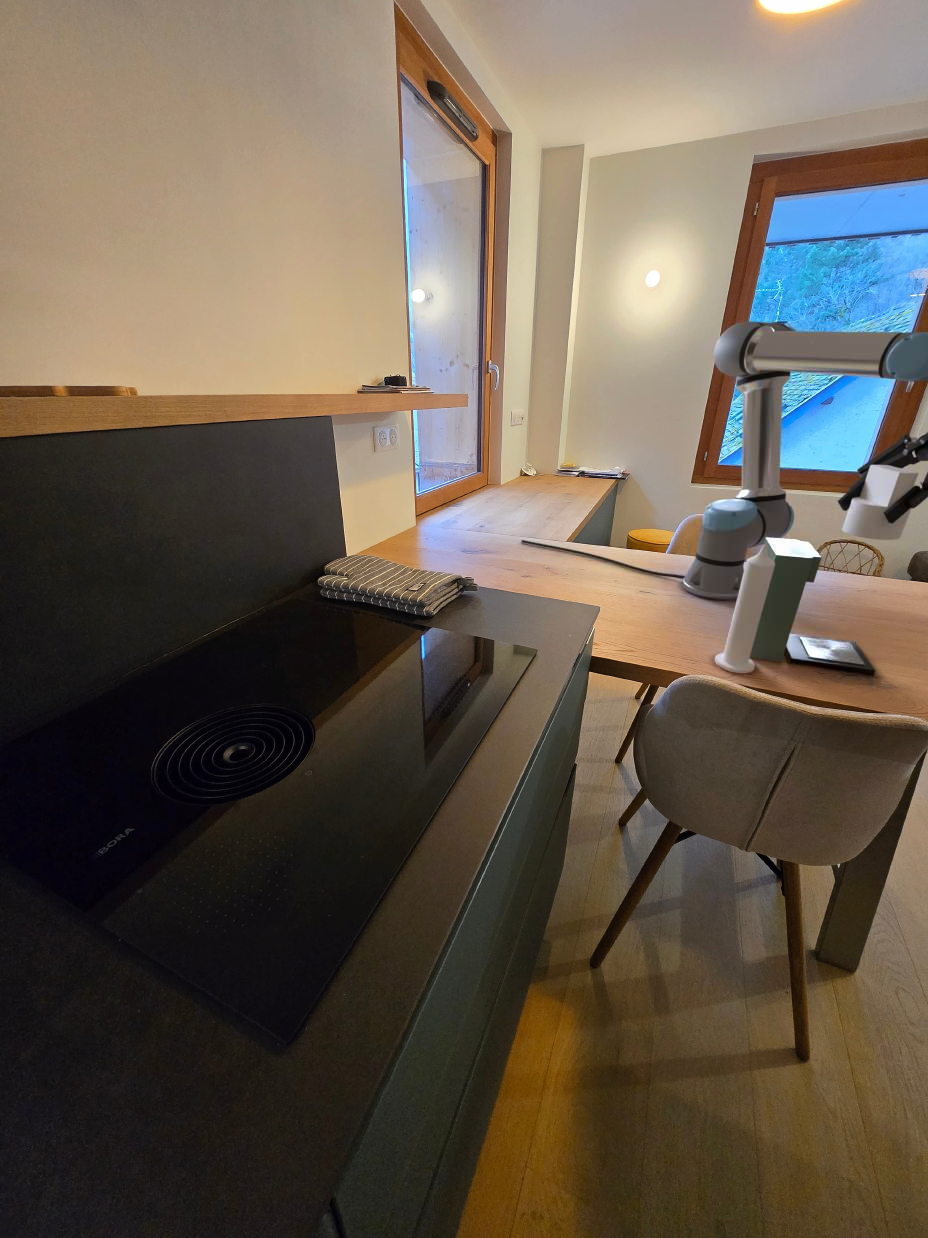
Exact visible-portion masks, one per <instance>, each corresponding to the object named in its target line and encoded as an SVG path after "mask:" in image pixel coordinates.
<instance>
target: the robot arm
mask: <svg viewBox="0 0 928 1238" xmlns="http://www.w3.org/2000/svg"><path fill="white" fill-rule="evenodd" d="M714 346H715V347H714V350H713V361H714V365H715V367H716V368H717V370H718V371H719V372H721V373H722V374H724V375H726V376H729V377H736V384H735V385H736V387H735V388H736V390H737V391H739V392H740V393H741V394H742V433H741V434H742V435H741V436H742V441H741V489H740V491H739V492H738V493H737V494H736V495H735V496H734V498H729V499H725V498H724V499H719V500H715V501H713V502H711V503H710V504H708V505H707V506H706V507H705V509H704V513H703V516H702V519H701V527H700V532H699V537H698V542H697V547H696V553H695V558H694V560H693V561H692V564H691V565H690V567H689V569H688V570H687V572H686V574H685V575H683V574H674V573H668V572H667V573H665V572H660V571H653V570H651V569H646V568H642V567H638V566H634V565H631V564H627V563H624V562H622V561H617V560H615V559H611V558H608V557H604V556H601V555H597V554H593V553H589V552H585V551H580V550H575V549H571V548H568V547H567V548H566V547H562V546H556V545H551V544H546V543H541V542H540V543H539V542H535V541H530V540H525V539H521V542H520V543H522V544H528V545H531V546H538V547H542V548H548V549H554V550H557V551H564V552H568V553H572V554H577V555H582V556H585V557H590V558H593V559H599V560H602V561H605V562H608V563H612V564H614V565H619V566H621V567H624V568H627V569H630V570H633V571H637V572H642V573H645V574H649V575H654V576H658V577H664V578H665V577H666V578H675V579H681V580H682V579H683V582H682V588H683V589H684V590H685V591H686V592H688V593H690V594H692V595H695V596H697V597H701V598H704V599H710V600H717V601H733V600H737V598H738V594H739V590H740V586H741V582H742V578H743V574H744V570H745V566H744V565H745V562H746V561H745V560H746V557H747V552H748V549H751V548H754V547H759V546H763V545H764V541H765V538H779V539H783V538H784V537H785V536H786V535H787V534H788V533H789V532H790V531H791V529H792V527H793V525H794V522H795V521H794V520H795V512H794V509H793V507H792V505H790V504H789V502H788V501H787V491H786V490H784V489H783V488H782V487H781V486H780V478H781V477H780V475H781V449H782V448H781V447H782V446H781V445H782V444H781V443H782V419H783V418H782V417H783V411H782V410H783V391H784V390H783V389H784V386H785V385H786V384H787V383H788V381H790V379H791V373H800V374H801V373H803V374H818V375H833V376H845V377H846V376H847V377H861V378H874V379H875V378H876V379H886V380H899V381H901V382H908V383H909V382H912V383H916V382H922V381H928V331H927V330H926V331H925V330H924V331H919V332H916V331H910V332H909V331H907V332H901V331H818V330H817V331H814V330H813V331H810V330H807V331H805V330H804V331H802V330H801V331H800V330H796V329H795V328H794V327H793V326H791V325H789V324H786V323H782V322H778V321H777V322H776V321H773V322H763V321H750V320H749V321H742V322H738V323H735V324H733V325H732V326H730V327H728V328H727V329H725V331H724V332H722V334H721V335H720V336H719V338H718V339H717V341H716V343H715V345H714ZM913 453H914V454H913ZM914 455H915V456H914ZM920 462H928V431H927V432H924V433H923V434H921V435H920V436H917V437H911V435H910V434H909V433H905V434H902V435H901V436H900V438H899V439H898V440H897V441H896V442H894V443H893V444H892V445H890V446H888V447H887V448H886V449H885V450H883V451H882V452H881V453H879V454H877V455H876V456H875V457H873V458H872V459H870V460H869V461H867V462H866V463H865V464H863V465H862V466H860V467H858V468H857V470H856V472H857V474H858V475H859V477H860V478H858V480H856V482H854V483H853V484H852V485H851V486H850V487H849V488H848V491H847V492H846V493H845V494H843V496H841V497H840V498H839V499H838V500H837V503H838V505H839V506H840V508H841V510H842V511H844V512H848V510H849V507H850V504H851V501H852V499H853V498H855V497H860V495H861V492H862V489H863V486H864V483H865V480H866V477H867V474H868V471H869V468H870V465H889V466H893V467H897V468H901V469H905V468H907V467H908V466H910V465H916V464H919V463H920ZM919 483H920V485H916V484H914V486H913V488H912V489H910V490H909V491H908V492H907V493H906V494H905V495H903V496H902V497H901V498H900V499H899V500H898V501H896V502H895V503H894V504H893V505H892V506H891V507H890V508H888V509H887V510H886V511H885V512H884V515H885V517H886V519H887V520H888V522H889V523H892V524H893V523H894V522H895V521H896V520H898V519H899V518H900V517H901V516H902V515H903V514H905V513H906V512H907V511H908V510H909V509H910V508H912V509H915V508H917V507H918V506H920V505H921V504H922V503H923V502H924V501H925V500H927V499H928V471H927V472H926V474H925V476H924V479H923V481H920V482H919ZM920 486H921V487H920Z"/></svg>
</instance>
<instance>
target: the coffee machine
mask: <svg viewBox="0 0 928 1238" xmlns="http://www.w3.org/2000/svg"><path fill="white" fill-rule="evenodd" d="M764 544H767V554H768V557H769V558H770V559H771V560H772V561H774V563H775V566H774V570H773V574H772V577H771V581H770V585H769V588H768V592H767V595H766V599H765V603H764V606H763V610H762V613H761V617H760V621H759V624H758V628H757V632H756V635H755V639H754V642H753V646H752V650H751V653H750V657H749V658H750V659H751V658H752V659H759V660H765V661H772V662H778V663H779V662H780V663H781V662H782V661H783V658H784V655H786V657H787V660H788V662H789V664H791V665H793V664H794V665H800V666H805V667H813V668H819V669H827V670H833V671H840V672H848V673H854V674H855V673H856V674H860V675H867V676H868V675H869V676H875V673H876V672H877V670H876V669H875V667H874V666H873V664H872V663H871V662H870V660H869V659H868V657H867V655H866V654H865V653H864V652H863V650H862V649H861V647H860V646H859V644H858V643H857V642H856V641H852V640H842V639H836V638H828V637H820V636H811V635H805V634H796V633H792V628H793V626H794V622H795V618H796V616H797V613H798V609H799V606H800V603H801V600H802V596H803V594H804V590H805V587H806V585H807V583H811V584H812V583H815V580H816V577H817V573H818V572H819V571H818V570H819V568H820V564H821V561H822V557H823V556H821V554H820V553H818V551H817V550H816V549H815V548H814V547H813V545H812V544H811V543H810V542H809V541H801V540H799V539H791V538H781V539H779V538H765V541H764Z"/></svg>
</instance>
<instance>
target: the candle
mask: <svg viewBox="0 0 928 1238" xmlns="http://www.w3.org/2000/svg"><path fill="white" fill-rule="evenodd" d="M746 559H747V560H746V561H745V566H744V574H743V578H742V582H741V586H740V590H739V594H738V598H737V599H736V602H735V606H734V610H733V613H732V614H733V615H732V618H731V622H730V626H729V631H728V635H727V639H726V642H725V647H724V650H723V652H720V653H718V654H716V655H715V657H714V663H715V664H716V665H717V666H718V667H719V668H720V669H723V670H725V671H728V672H731V673H735V674H749V673H752V672H753V671H754V670H755V668H756V665H755V662H754V661H753V660H752V659H751V657H750V653H751V650H752V646H753V642H754V639H755V635H756V632H757V628H758V624H759V621H760V617H761V613H762V610H763V606H764V603H765V599H766V595H767V592H768V588H769V585H770V581H771V577H772V574H773V570H774V566H775V563H774V561H772V560H771V559H770V558H769V557H768V554H767V544H764V545H762V546H761V549H760V550H759V552H758V553H757V554H756V555H753V556H751V557H749V558H746Z"/></svg>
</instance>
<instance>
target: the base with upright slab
mask: <svg viewBox="0 0 928 1238" xmlns="http://www.w3.org/2000/svg"><path fill="white" fill-rule="evenodd" d="M918 476H919V472H918V471H913V470H909V469H906V468H902V469H901V468H897V467H893V466H889V465H870V468H869V471H868V474H867V477H866V480H865V483H864V486H863V489H862V492H861V495H860V497H855V498H853V499H852V501H851V504H850V507H849V509H848V510H847V512H846V517H845V520H844V523H843V525H842V529H841V530H842V532H843V533H845V534H848V535H852V536H854V537H858V538H864V539H870V540H882V541H883V540H884V541H893V540H894V541H895V540H899V539H901V538H902V535H903V533H904V530H905V527H906V524H907V522H908V519H909V516H910V514H911V511H912V509H913V508H910V509H909V510H908V511H907V512H906V513H905V514H903V515H902V516H901V517H900V518H899V519H898V520H896V521H895V522H894V523H893V524H892V523H889V522H888V520H887V519H886V517H885V515H884V512H885V511H886V510H887V509H888V508H890V507H891V506H892V505H893V504H894V503H895V502H896V501H898V500H899V499H900V498H901V497H902V496H903V495H905V494H906V493H907V492H908V491H909V490H910V489H912V488H913V487H914V486H915V485H916V481H917V479H918Z"/></svg>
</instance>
